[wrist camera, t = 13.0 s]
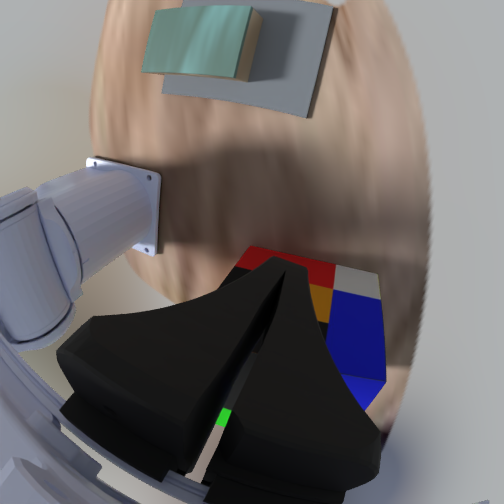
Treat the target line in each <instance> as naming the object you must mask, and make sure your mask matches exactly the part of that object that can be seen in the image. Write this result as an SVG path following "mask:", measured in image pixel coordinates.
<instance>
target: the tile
mask: <svg viewBox="0 0 504 504" xmlns="http://www.w3.org/2000/svg"><path fill="white" fill-rule="evenodd" d="M262 22H263V18H262V17H261V16H260V15H259V14H258V13H257V12H256V11H255V10H254V8H253V7H252V6H236V5H214V6H193V7H180V8H171V9H163V10H156V12H155V15H154V19H153V22H152V26H151V30H150V34H149V38H148V42H147V47H146V51H145V56H144V60H143V65H142V71H141V72H143V73H153V74H161V75H183V76H197V77H208V78H218V79H226V80H234V81H241V82H247V83H248V79H249V74H250V70H251V66H252V62H253V57H254V53H255V49H256V45H257V41H258V37H259V33H260V29H261V26H262Z"/></svg>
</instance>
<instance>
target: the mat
mask: <svg viewBox="0 0 504 504" xmlns="http://www.w3.org/2000/svg"><path fill="white" fill-rule="evenodd" d="M214 5H236V6H252V7H253V8H254V10H255V11H256V12H257V13H258V14H259V15H260V16H261V17H262V18H263V22H262V26H261V29H260V33H259V37H258V41H257V45H256V49H255V53H254V57H253V62H252V66H251V70H250V74H249V79H248V83H247V82H241V81H234V80H226V79H218V78H208V77H197V76H183V75H165V77H164V82H163V88H162V93H163V94H175V95H186V96H195V97H203V98H211V99H217V100H224V101H230V102H236V103H242V104H247V105H252V106H257V107H262V108H266V109H271V110H275V111H280V112H284V113H288V114H292V115H296V116H299V117H303V118H307V115H308V111H309V107H310V103H311V99H312V95H313V91H314V87H315V83H316V79H317V75H318V71H319V67H320V62H321V58H322V54H323V50H324V46H325V42H326V37H327V33H328V29H329V25H330V20H331V16H332V12H333V6H328V5H323V4H318V3H312V2H306V1H300V0H183V3H182V6H181V7H193V6H214Z"/></svg>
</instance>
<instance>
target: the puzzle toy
mask: <svg viewBox="0 0 504 504" xmlns="http://www.w3.org/2000/svg"><path fill="white" fill-rule="evenodd" d="M272 256H276V257H279V258H282V259H285V260H288V261H290V262H293V263H296V264H299V265H302V266H304V267H307V269H308V278H309V286H310V292H311V297H312V301H313V305H314V310H315V313H316V317H317V320H318V323H319V326H320V329H321V332H322V335H323V338H324V340H325V343H326V345H327V348H328V350H329V352H330V354H331V356H332V359H333V361H334V363H335V365H336V367H337V368H338V370H339V372H340V374H341V376H342V378H343V379H344V381H345V383H346V385H347V386H348V388H349V389H350V391H351V392H352V394H353V396H354V397H355V399H356V400H357V402H358V403H359V405H360V406H361V407H362V409H363V410H364V411H365V410H366V408H367V407H368V406H369V405H370V403H371V402H372V401H373V399H374V398H375V397H376V395H377V394H378V393H379V391H380V390H381V389H382V387H383V386H384V384H385V383H386V352H385V336H384V323H383V313H382V303H381V295H380V287H379V279H378V274H375V273H371V272H367V271H362V270H358V269H353V268H349V267H345V266H340V265H336V264H331V263H327V262H322V261H318V260H313V259H309V258H305V257H300V256H296V255H291V254H287V253H282V252H278V251H273V250H268V249H264V248H259V247H255V246H250V247H249V248H248V249H247V250H246V252H245V253H244V254H243V256H242V257H241V258H240V260H239V261H238V262H237V264H236V265H235V266H234V268H233V269H232V270H231V272H230V273H229V274H228V276H227V277H226V278H225V280H224V281H223V282H222V284H221V285H220V286H219V288H218V289H220V288H222V287H224V286H226V285H228V284H229V283H231V282H233V281H235V280H237V279H239V278H241V277H242V276H244V275H245V274H247V273H249V272H250V271H252V270H253V269H255V268H256V267H258V266H259V265H261V264H262V263H263V262H265V261H266V260H267V259H269V258H270V257H272ZM218 289H217V290H218ZM265 329H266V328H265ZM264 333H265V330H264V331H263V333H262V335H261V337H260V339H259V340H258V342H257V344H256V346H255V347H254V349H253V351H252V353H251V354H250V356H249V358H248V360H247V361H246V363H245V365H244V366H243V368H242V370H241V372H240V373H239V375H238V377H237V379H236V381H235V383H234V385H233V387H232V390H231V392H230V394H229V396H228V398H227V400H226V402H225V404H224V407H223V409H222V411H221V413H220V415H219V417H218V419H217V421H216V423H215V424H217V425H220V426H223V427H225V426H226V424H227V421H228V419H229V416H230V413H231V411H232V408H233V406H234V404H235V402H236V400H237V398H238V396H239V394H240V392H241V390H242V388H243V386H244V384H245V382H246V380H247V377H248V375H249V373H250V371H251V369H252V367H253V364H254V362H255V360H256V358H257V356H258V352H259V349H260V346H261V343H262V339H263V336H264Z"/></svg>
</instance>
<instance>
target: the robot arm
mask: <svg viewBox="0 0 504 504" xmlns="http://www.w3.org/2000/svg"><path fill="white" fill-rule="evenodd" d="M150 176H151V178H152V179H150ZM160 187H161V176H160V174H159V173H157V172H153V171H149V170H145V169H141V168H137V167H133V166H129V165H125V164H121V163H117V162H112V161H108V160H104V159H99V158H95V157H89V158H88V159H87V162H86V168H83V169H80V170H78V171H75V172H72V173H69V174H66V175H64V176H61V177H58V178H56V179H53V180H51V181H48V182H46V183H44V184H42V185H40V186H39V187H38V188H36V189H35V190H33V191H32V189H30V188H29V187H25V188H22V189H19V190H17V191H14V192H12V193H10V194H7V195H5V196H3V197H1V198H0V504H140V503H138V502H137V501H135V500H133V499H131V498H129V497H128V496H126V495H124V494H123V493H121V492H119V491H118V490H116V489H114V488H113V487H111V486H110V485H108V484H107V483H105V482H104V481H102V480H101V479H99V478H98V477H97V474H98V473H99V471H100V470H101V468H102V466H101V464H99V463H98V462H97V461H95V460H94V459H93V458H91V457H90V456H89V455H88V454H86V453H85V452H84V451H83V450H82V449H81V448H80V447H79V446H77V445H76V444H75V443H74V442H73V441H71V440H70V439H69V438H68V437H67V436H66V435H64V434H63V433H62V432H61V425H60V423H61V424H62V425H63V426H65V427H66V428H67V429H68V430H69V431H70V432H72V433H73V434H74V435H75V436H77V437H78V438H79V439H80V440H82V441H83V442H84V443H85V444H87V445H88V446H89V447H91V448H92V449H93V450H95V451H96V452H98V453H99V454H100V455H102V456H103V457H104V458H106V459H107V460H109V461H110V462H112V463H113V464H115V465H116V466H118V467H119V468H121V469H123V470H124V471H126V472H128V473H129V474H131V475H132V476H134V477H136V478H138V479H139V480H141V481H143V482H145V483H146V484H149V485H150V486H152V487H154V488H156V489H158V490H160V491H162V492H164V493H166V494H168V495H170V496H172V497H174V498H176V499H179V500H181V501H183V502H186V503H188V504H342V503H343V501H344V497H345V492H346V491H347V490H350V489H352V488H355V487H358V486H360V485H363V484H365V483H367V482H369V481H371V480H372V479H374V478H375V477H376V476H377V474H378V473H379V468H380V459H381V432H380V431H379V429H378V428H377V427H376V425H375V424H374V423H373V421H372V420H371V419H370V418H369V416H368V415H367V414H366V412H365V411H364V410H363V409H362V407H361V406H360V405H359V403H358V402H357V400H356V399H355V397H354V396H353V394H352V392H351V391H350V389H349V388H348V386H347V385H346V383H345V381H344V379H343V378H342V376H341V374H340V372H339V370H338V368H337V367H336V365H335V363H334V361H333V359H332V356H331V354H330V352H329V350H328V348H327V345H326V343H325V340H324V338H323V335H322V332H321V329H320V326H319V323H318V320H317V317H316V313H315V310H314V305H313V301H312V297H311V292H310V286H309V278H308V269H307V267H304V266H302V265H299V264H296V263H293V262H290V261H288V260H285V259H282V258H279V257H276V256H272V257H270V258H269V259H267V260H266V261H265V262H263V263H262V264H261V265H259V266H258V267H256V268H255V269H253V270H252V271H250V272H249V273H247V274H245V275H244V276H242V277H241V278H239V279H237V280H235V281H233V282H231V283H229V284H228V285H226V286H224V287H222V288H220V289H218V290H215V291H213V292H211V293H208V294H206V295H203V296H201V297H198V298H196V299H193V300H190V301H186V302H183V303H179V304H176V305H172V306H169V307H164V308H160V309H155V310H150V311H144V312H137V313H129V314H119V315H105V316H93V317H92V318H90V319H89V320H88V321H87V322H85V323H84V324H83V325H82V326H81V327H80V328H79V329H78V330H77V331H76V332H75V333H73V335H71V337H69V339H67V340H66V341H65V342H64V343H63V344H62V345H61V346H60V347H59V348H58V350H57V351H56V355H57V361H58V363H59V366H60V368H61V369H62V371H63V373H64V375H65V376H66V378H67V380H68V382H69V383H70V385H71V387H72V388H73V390H74V391H75V392H74V393H73V394H72V395H71V397H70V398H69V399H68V400H67V401H65V400H64V399H63V398H62V397H61V396H60V395H59V394H58V393H56V392H55V391H54V390H53V389H52V388H51V387H50V386H49V385H48V384H47V383H46V382H45V381H44V380H43V379H41V377H40V376H39V375H38V374H37V373H36V372H35V371H34V370H33V369H32V368H31V367H30V366H29V365H28V364H27V363H26V362H25V361H24V360H23V359H22V357H21V356H20V355H19V354H18V353H19V352H22V351H27V350H37V349H41V348H44V347H47V346H48V345H51V344H52V343H54V342H55V341H57V340H58V339H59V338H60V337H61V336H62V335H63V334H64V333H65V332H66V331H67V329H68V328H69V326H70V324H71V323H72V321H73V319H74V316H75V313H76V307H75V304H74V301H75V300H76V299H78V298H79V297H80V296H81V295H83V292H82V289H81V284H83V283H84V282H85V281H87V280H88V279H89V278H90V277H92V276H93V275H94V274H96V273H97V272H98V271H100V270H101V269H102V268H104V267H105V266H107V265H108V264H109V263H110V262H112V261H113V260H115V259H116V258H117V257H119V256H120V255H122V254H123V253H125V252H126V251H127V250H129V249H130V248H134V249H136V250H138V251H141V252H143V253H145V254H147V255H150V256H155V255H156V254H157V240H158V217H159V200H160ZM147 248H148V249H147ZM265 328H266V329H265ZM264 330H265V333H264V336H263V339H262V343H261V346H260V349H259V352H258V356H257V358H256V360H255V362H254V364H253V367H252V369H251V371H250V373H249V375H248V377H247V380H246V382H245V384H244V386H243V388H242V390H241V392H240V394H239V396H238V398H237V400H236V402H235V404H234V406H233V408H232V411H231V413H230V416H229V419H228V421H227V424H226V426H225V429H224V431H223V434H222V436H221V439H220V441H219V444H218V446H217V448H216V451H215V452H214V455H213V457H212V459H211V460H210V462H209V465H208V467H207V468H206V472H205V475H204V477H203V480H202V482H201V484H200V483H198V482H195V481H193V480H191V479H188V478H186V477H184V476H185V475H186V474H187V473H191V472H192V471H193V469H194V467H195V465H196V462H197V461H198V458H199V456H200V454H201V452H202V450H203V448H204V446H205V444H206V442H207V439H208V438H209V436H210V434H211V432H212V430H213V428H214V425H215V423H216V421H217V419H218V417H219V415H220V413H221V411H222V409H223V407H224V404H225V402H226V400H227V398H228V396H229V394H230V392H231V390H232V387H233V385H234V383H235V381H236V379H237V377H238V375H239V373H240V372H241V370H242V368H243V366H244V365H245V363H246V361H247V360H248V358H249V356H250V354H251V353H252V351H253V349H254V347H255V346H256V344H257V342H258V340H259V339H260V337H261V335H262V333H263V331H264ZM474 504H489V500H485V501H482V502H479V503H474Z"/></svg>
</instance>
